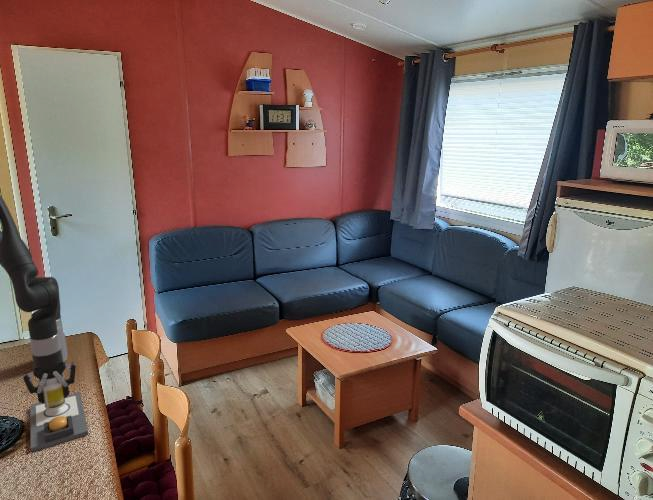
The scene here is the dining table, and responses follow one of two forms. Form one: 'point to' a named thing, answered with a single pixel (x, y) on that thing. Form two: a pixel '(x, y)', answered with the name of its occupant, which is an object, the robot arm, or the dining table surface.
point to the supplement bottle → (53, 394)
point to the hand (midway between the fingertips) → (54, 399)
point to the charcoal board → (46, 438)
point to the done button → (58, 423)
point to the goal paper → (56, 411)
